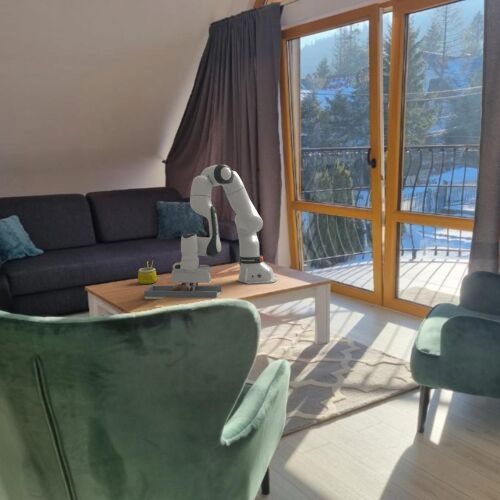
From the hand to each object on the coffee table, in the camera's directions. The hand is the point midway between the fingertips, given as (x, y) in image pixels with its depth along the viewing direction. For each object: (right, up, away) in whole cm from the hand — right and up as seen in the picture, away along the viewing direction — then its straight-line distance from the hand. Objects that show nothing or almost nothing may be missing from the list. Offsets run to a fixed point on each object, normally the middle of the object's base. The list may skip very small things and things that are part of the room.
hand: (191, 290), depth 296 cm
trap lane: (-5, -3, +2) cm, 5 cm away
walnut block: (-6, -2, +1) cm, 6 cm away
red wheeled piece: (-3, +1, +22) cm, 23 cm away
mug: (-28, +2, +34) cm, 44 cm away
